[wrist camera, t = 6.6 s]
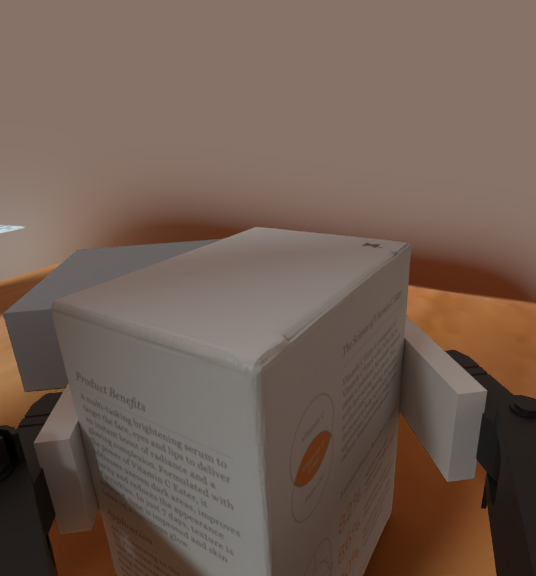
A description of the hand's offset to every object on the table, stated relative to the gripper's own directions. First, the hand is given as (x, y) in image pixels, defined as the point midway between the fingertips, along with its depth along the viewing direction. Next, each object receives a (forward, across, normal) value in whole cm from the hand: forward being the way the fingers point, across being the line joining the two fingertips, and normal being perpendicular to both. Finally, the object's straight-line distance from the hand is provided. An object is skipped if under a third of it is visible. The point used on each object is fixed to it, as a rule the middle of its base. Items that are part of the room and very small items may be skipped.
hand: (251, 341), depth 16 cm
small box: (-5, 0, -6) cm, 8 cm away
